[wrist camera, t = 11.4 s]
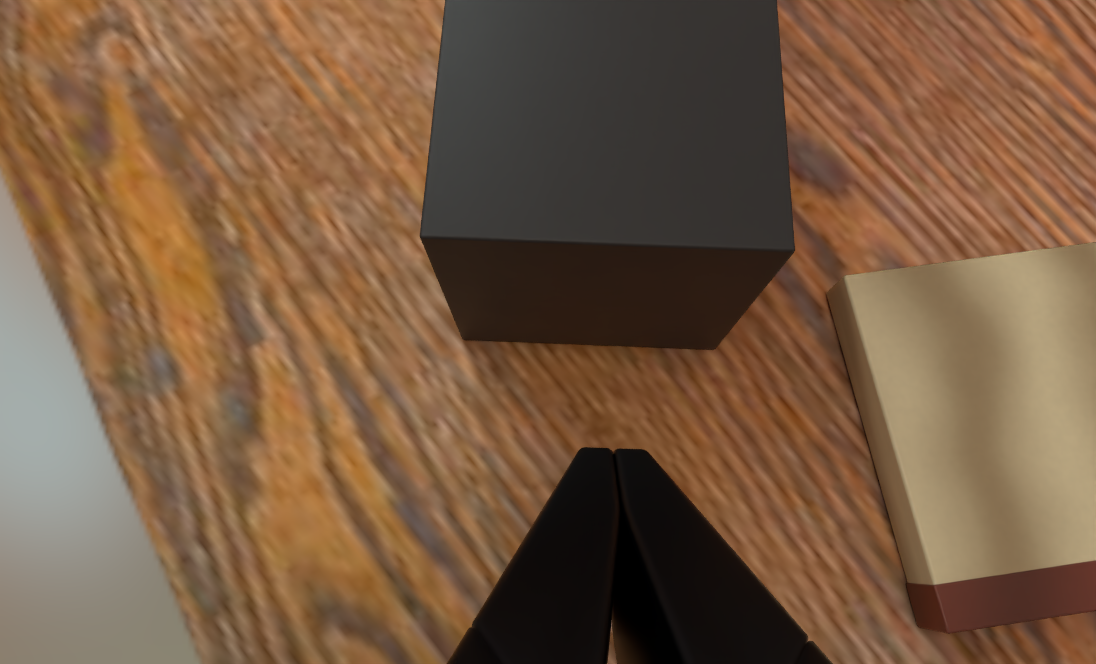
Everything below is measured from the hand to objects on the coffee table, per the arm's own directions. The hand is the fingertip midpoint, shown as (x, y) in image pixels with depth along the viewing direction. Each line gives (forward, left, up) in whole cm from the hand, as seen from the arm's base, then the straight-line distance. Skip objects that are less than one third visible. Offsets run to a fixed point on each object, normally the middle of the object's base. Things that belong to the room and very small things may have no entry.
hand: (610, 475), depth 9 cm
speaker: (+2, +11, -12) cm, 16 cm away
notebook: (+16, +1, -12) cm, 20 cm away
